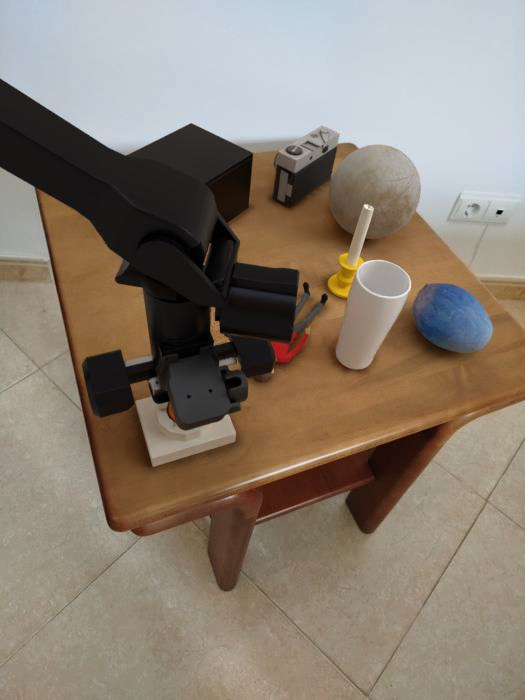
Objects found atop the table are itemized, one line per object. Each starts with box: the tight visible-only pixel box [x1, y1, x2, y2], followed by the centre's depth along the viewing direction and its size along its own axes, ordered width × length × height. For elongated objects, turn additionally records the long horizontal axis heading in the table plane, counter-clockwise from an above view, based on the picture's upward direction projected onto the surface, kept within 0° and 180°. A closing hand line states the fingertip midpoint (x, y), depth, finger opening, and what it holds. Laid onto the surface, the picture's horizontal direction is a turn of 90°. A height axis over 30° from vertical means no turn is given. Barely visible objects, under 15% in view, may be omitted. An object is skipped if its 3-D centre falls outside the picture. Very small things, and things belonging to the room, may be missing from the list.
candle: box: [327, 203, 374, 299], centre depth 71 cm, size 5×5×16 cm
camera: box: [272, 125, 341, 209], centre depth 90 cm, size 14×8×10 cm, turn 141°
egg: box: [411, 282, 494, 354], centre depth 70 cm, size 9×9×15 cm
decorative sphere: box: [328, 144, 422, 240], centre depth 81 cm, size 15×15×15 cm
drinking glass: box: [335, 259, 412, 371], centre depth 63 cm, size 7×7×15 cm
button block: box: [135, 396, 237, 468], centre depth 58 cm, size 10×8×4 cm
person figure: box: [254, 281, 329, 382], centre depth 68 cm, size 5×4×18 cm
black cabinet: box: [125, 122, 254, 224], centre depth 82 cm, size 16×14×11 cm
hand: (184, 407), depth 56 cm, fingers closed, pressing on start button
